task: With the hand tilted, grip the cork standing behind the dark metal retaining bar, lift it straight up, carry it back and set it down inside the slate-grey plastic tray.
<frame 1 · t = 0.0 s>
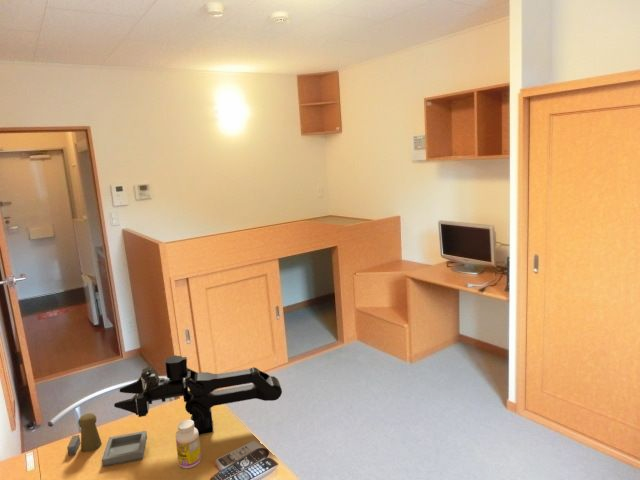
hand: (117, 397, 142), 17 cm above the table, tool horizontal, fingers open, 9 cm apart
cork: (91, 446, 145), on the table
supplement bottle: (190, 462, 135), on the table
tray: (125, 451, 141), on the table
retaining bar: (74, 449, 143), on the table
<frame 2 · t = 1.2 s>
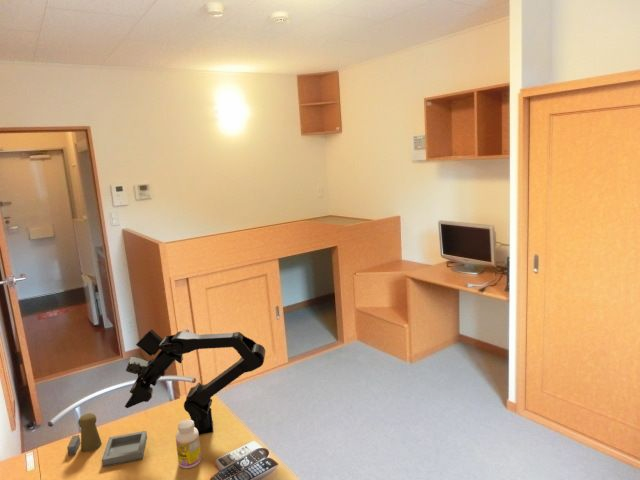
hand: (128, 399, 145), 14 cm above the table, tool tilted 45°, fingers open, 9 cm apart
nothing on the table moved.
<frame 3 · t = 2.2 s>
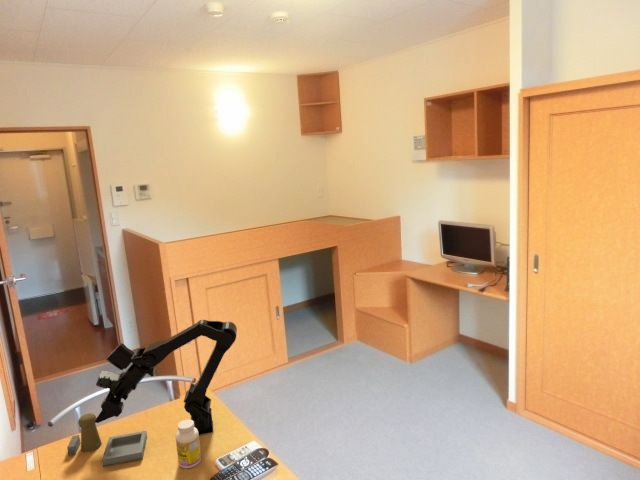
hand: (99, 414, 144), 11 cm above the table, tool tilted 45°, fingers open, 9 cm apart
nothing on the table moved.
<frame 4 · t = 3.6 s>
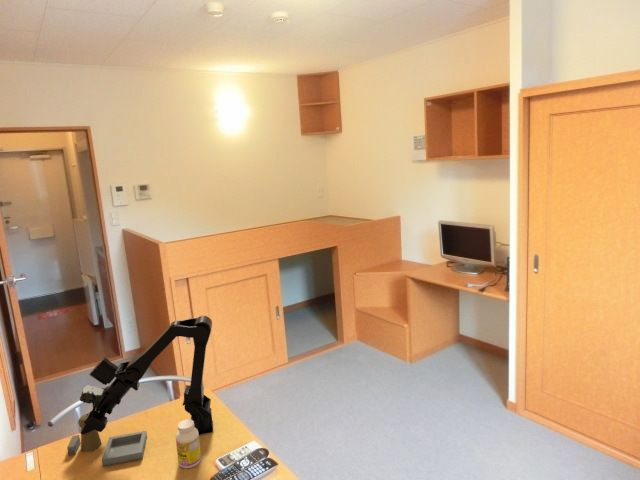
hand: (83, 428, 143), 7 cm above the table, tool tilted 45°, fingers closed on cork, 5 cm apart
cork: (91, 446, 145), on the table, touching gripper
everything else where it was.
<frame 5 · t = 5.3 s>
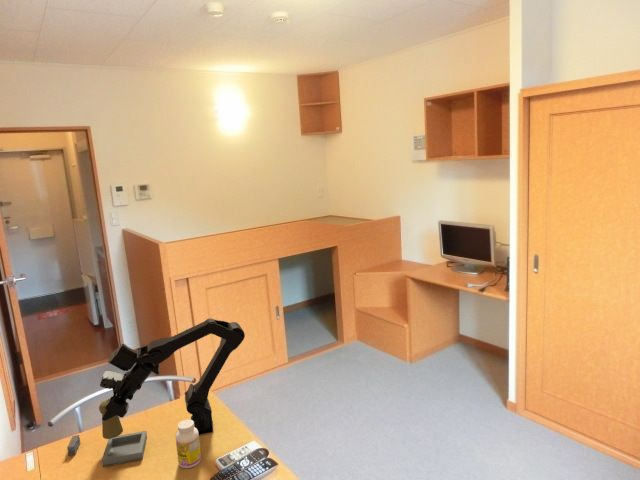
hand: (105, 415, 140), 12 cm above the table, tool tilted 45°, fingers closed on cork, 5 cm apart
cork: (113, 433, 142), point 5 cm above the table, touching gripper
everything else where it was.
when the fingers open (8 cm above the table, at t = 7.0 s): cork stays where it is, resting on tray.
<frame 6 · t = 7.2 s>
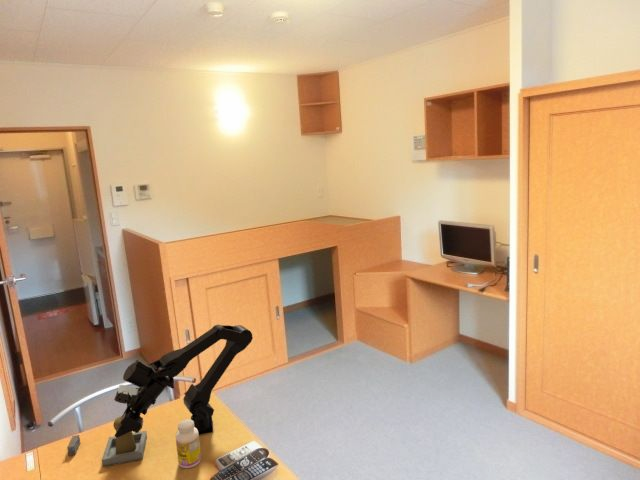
hand: (118, 429, 139), 8 cm above the table, tool tilted 45°, fingers open, 7 cm apart
cork: (126, 450, 141), resting on tray
everything else where it was.
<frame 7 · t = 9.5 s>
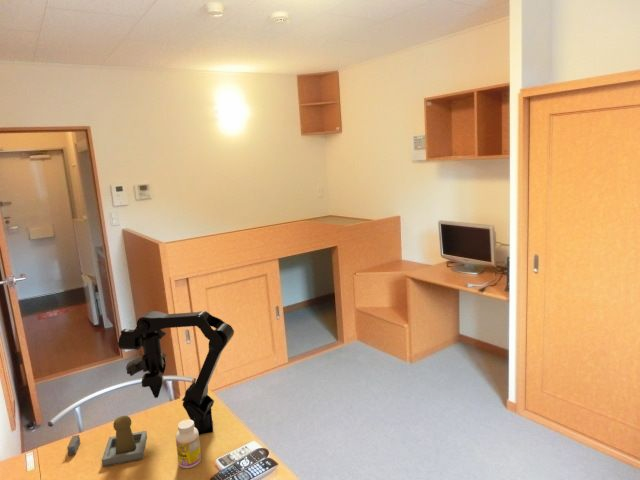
hand: (157, 392, 151), 13 cm above the table, tool pointing down, fingers open, 7 cm apart
nothing on the table moved.
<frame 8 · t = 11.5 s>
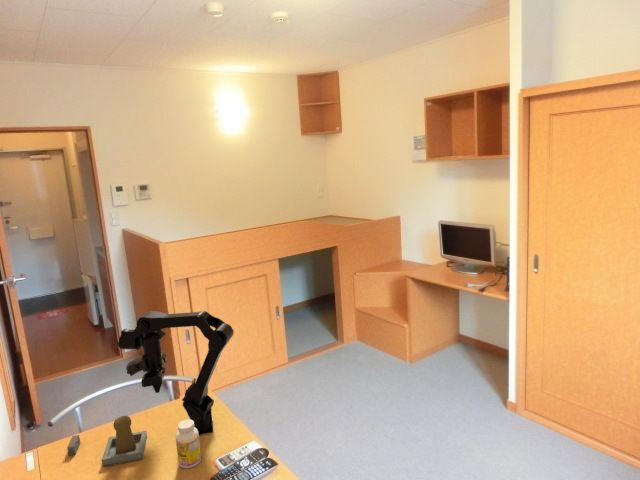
hand: (157, 392, 151), 13 cm above the table, tool pointing down, fingers closed
nothing on the table moved.
at the end: cork inside the target area on the tray (0.1 cm from its centre), point 0.4 cm above the tray's base; cork tilted 0°; the gripper is holding nothing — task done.
